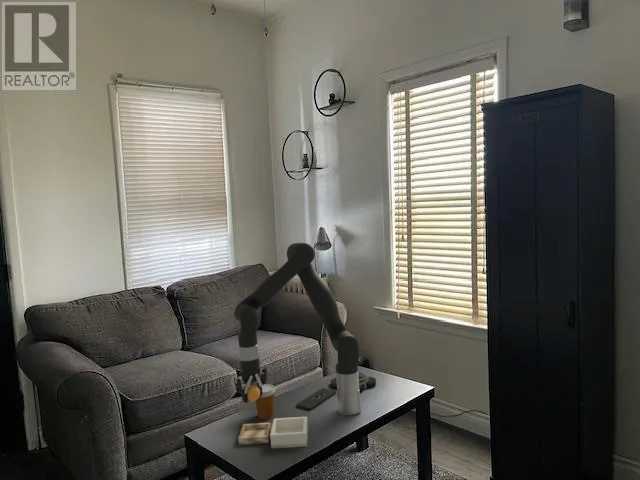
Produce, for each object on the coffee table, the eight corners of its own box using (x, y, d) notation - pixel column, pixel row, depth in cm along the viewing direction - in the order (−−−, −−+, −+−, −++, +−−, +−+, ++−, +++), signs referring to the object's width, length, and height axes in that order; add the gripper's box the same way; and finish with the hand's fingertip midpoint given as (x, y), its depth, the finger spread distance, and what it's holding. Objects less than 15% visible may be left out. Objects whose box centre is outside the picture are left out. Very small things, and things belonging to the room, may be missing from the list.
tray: (271, 428, 190) (270, 422, 190) (268, 442, 179) (267, 436, 179) (243, 430, 191) (243, 424, 190) (238, 444, 180) (238, 438, 179)
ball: (261, 396, 187) (260, 381, 186) (259, 403, 181) (258, 388, 180) (246, 397, 187) (244, 382, 186) (243, 404, 181) (242, 389, 180)
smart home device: (337, 390, 220) (310, 408, 204) (337, 394, 220) (310, 412, 204) (322, 387, 225) (295, 404, 208) (322, 390, 225) (295, 407, 209)
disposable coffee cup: (273, 421, 196) (271, 393, 195) (251, 420, 198) (249, 392, 197) (280, 410, 206) (278, 383, 204) (258, 410, 208) (256, 383, 206)
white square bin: (307, 428, 188) (307, 416, 188) (306, 446, 175) (306, 433, 175) (274, 430, 188) (273, 418, 188) (271, 448, 175) (270, 435, 175)
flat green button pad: (354, 375, 241) (353, 366, 240) (380, 384, 227) (380, 375, 226) (326, 386, 230) (326, 377, 229) (352, 397, 216) (352, 387, 215)
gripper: (258, 349, 190) (261, 390, 191) (227, 359, 180) (231, 403, 181) (270, 353, 184) (273, 395, 186) (239, 364, 174) (242, 408, 176)
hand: (252, 399), depth 184 cm, fingers closed on ball, 6 cm apart
